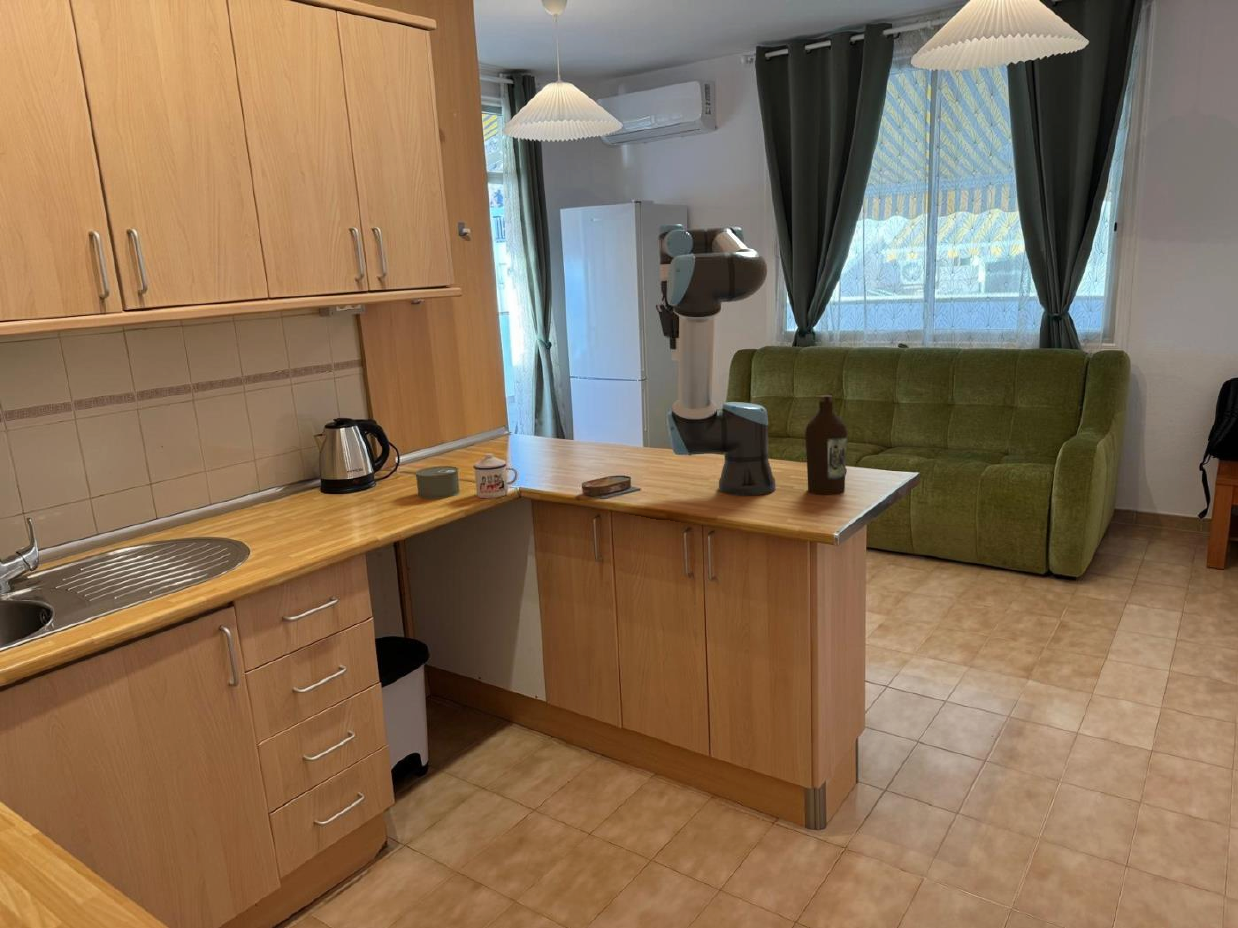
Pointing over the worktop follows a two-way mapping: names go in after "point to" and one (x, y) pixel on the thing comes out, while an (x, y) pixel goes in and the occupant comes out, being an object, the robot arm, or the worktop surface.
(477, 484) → the teacup with lid
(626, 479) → the tin
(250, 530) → the worktop surface
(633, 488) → the mat
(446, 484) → the can
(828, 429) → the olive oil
